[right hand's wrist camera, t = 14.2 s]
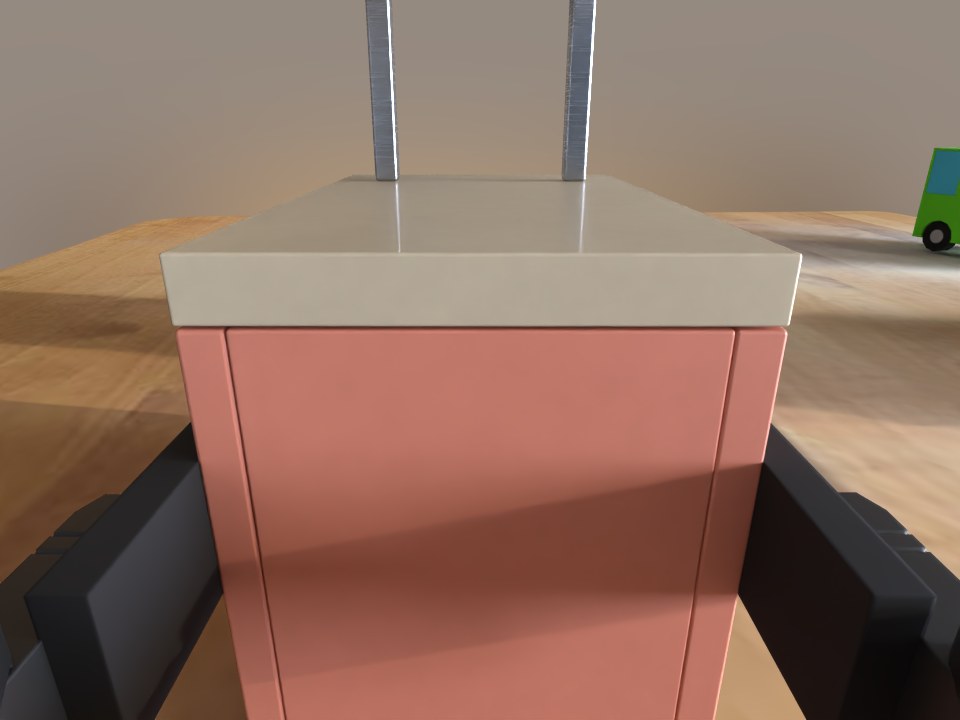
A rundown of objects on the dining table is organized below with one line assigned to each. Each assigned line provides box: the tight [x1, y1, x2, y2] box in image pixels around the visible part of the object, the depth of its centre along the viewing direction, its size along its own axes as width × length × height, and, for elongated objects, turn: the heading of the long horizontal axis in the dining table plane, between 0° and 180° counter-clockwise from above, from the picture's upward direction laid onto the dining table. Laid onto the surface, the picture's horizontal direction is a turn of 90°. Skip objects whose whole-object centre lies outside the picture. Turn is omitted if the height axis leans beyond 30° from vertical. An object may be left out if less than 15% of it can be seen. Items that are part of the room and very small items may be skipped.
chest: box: [175, 326, 787, 720], centre depth 17 cm, size 14×9×10 cm
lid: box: [159, 0, 802, 327], centre depth 14 cm, size 14×9×9 cm, turn 0°
